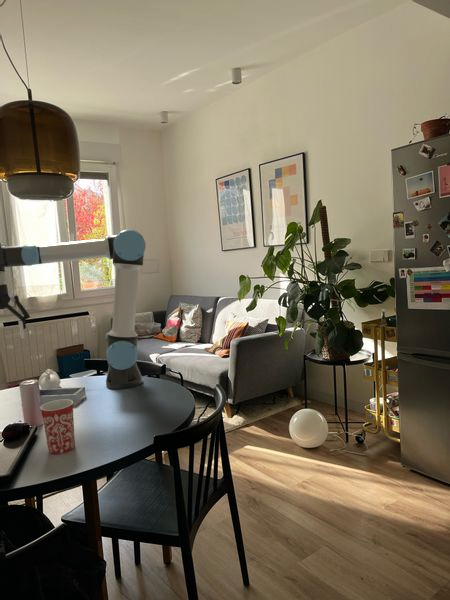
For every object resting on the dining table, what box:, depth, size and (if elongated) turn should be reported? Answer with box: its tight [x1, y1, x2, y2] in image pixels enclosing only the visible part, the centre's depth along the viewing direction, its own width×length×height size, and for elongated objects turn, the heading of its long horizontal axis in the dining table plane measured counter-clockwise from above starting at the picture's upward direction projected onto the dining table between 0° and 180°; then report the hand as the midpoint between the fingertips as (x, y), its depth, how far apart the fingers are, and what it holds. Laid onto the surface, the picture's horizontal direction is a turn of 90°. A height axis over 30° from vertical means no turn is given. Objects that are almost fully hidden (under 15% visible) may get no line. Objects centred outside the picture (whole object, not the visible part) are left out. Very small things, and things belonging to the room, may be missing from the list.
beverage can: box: [19, 379, 44, 428], centre depth 152 cm, size 6×6×15 cm
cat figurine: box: [38, 368, 62, 389], centre depth 192 cm, size 10×8×15 cm
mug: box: [40, 399, 76, 455], centre depth 133 cm, size 13×9×14 cm
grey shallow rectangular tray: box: [40, 386, 87, 407], centre depth 176 cm, size 20×10×4 cm, turn 85°
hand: (3, 341), depth 168 cm, fingers open, 13 cm apart
